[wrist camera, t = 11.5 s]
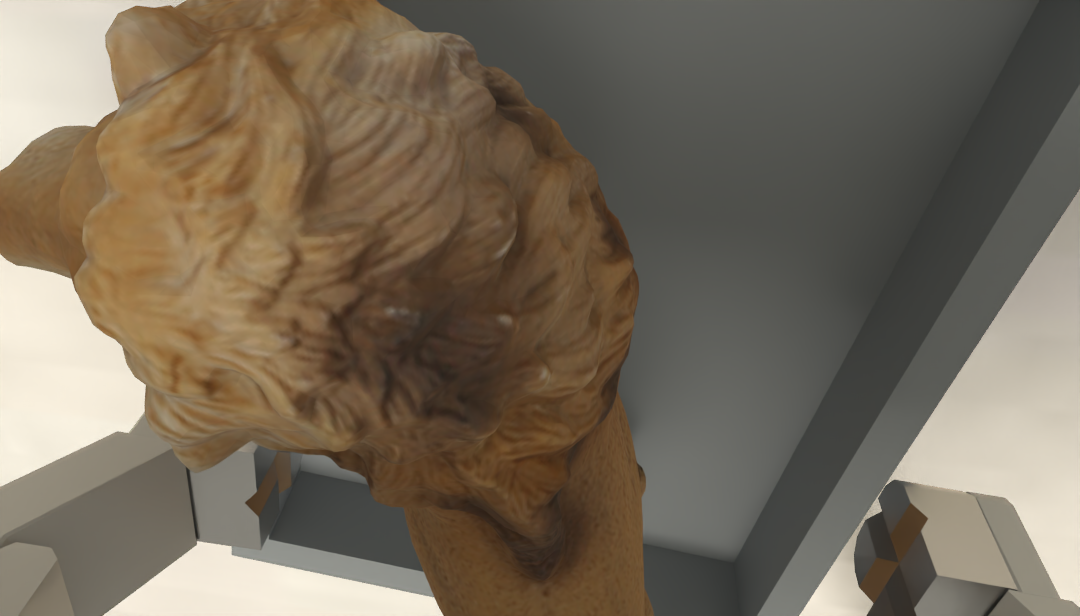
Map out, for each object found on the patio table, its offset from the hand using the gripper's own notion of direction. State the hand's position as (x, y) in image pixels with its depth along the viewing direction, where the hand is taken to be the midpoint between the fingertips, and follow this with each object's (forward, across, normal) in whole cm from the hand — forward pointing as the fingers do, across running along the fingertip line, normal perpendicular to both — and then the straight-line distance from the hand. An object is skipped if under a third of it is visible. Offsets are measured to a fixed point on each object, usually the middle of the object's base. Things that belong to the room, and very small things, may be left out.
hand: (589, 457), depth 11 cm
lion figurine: (+4, +2, +2) cm, 4 cm away
